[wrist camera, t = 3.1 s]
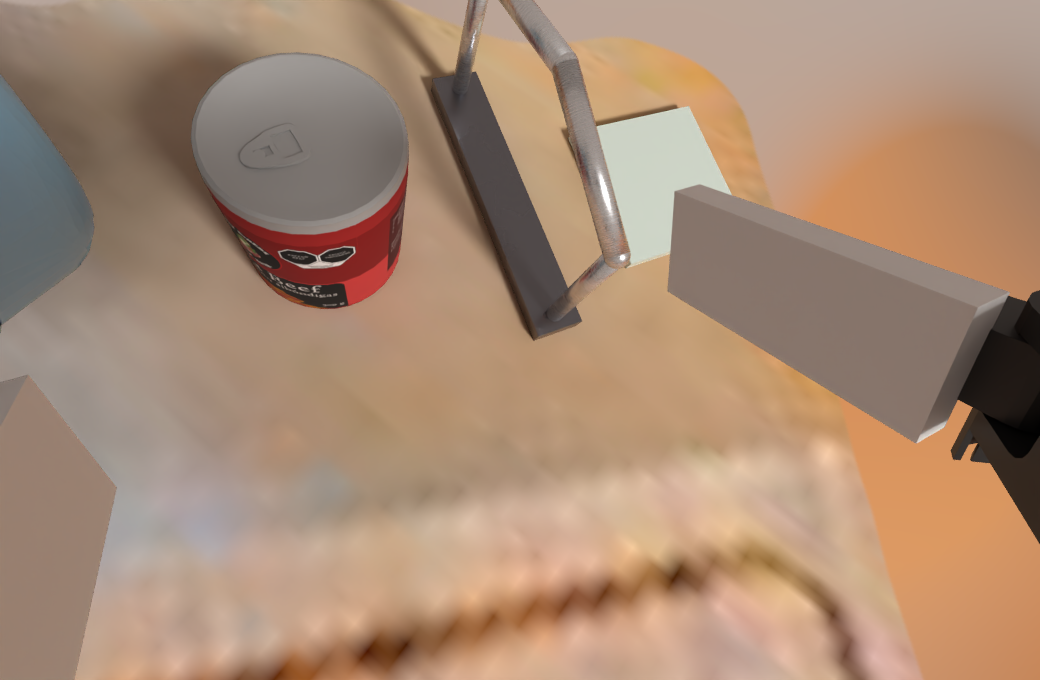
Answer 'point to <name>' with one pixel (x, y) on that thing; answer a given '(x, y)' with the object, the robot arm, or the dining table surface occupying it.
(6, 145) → the robot arm
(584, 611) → the dining table surface
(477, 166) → the metal handle
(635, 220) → the sage mat
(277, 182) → the canned food
